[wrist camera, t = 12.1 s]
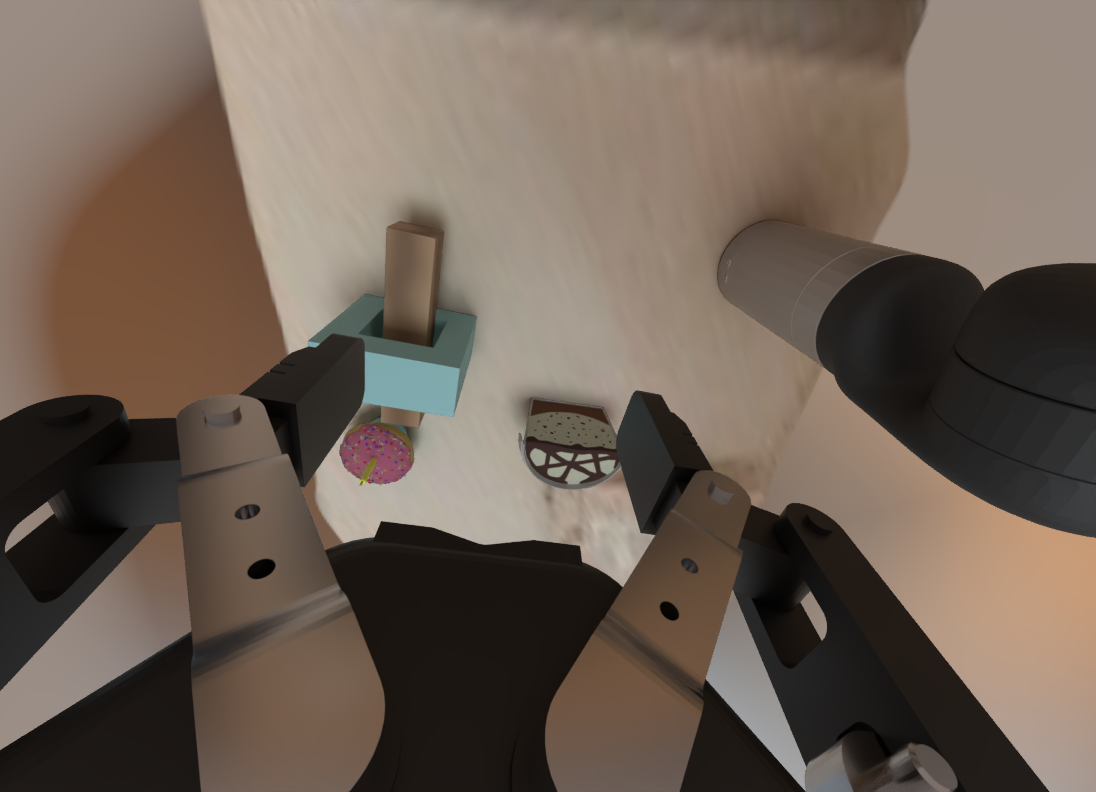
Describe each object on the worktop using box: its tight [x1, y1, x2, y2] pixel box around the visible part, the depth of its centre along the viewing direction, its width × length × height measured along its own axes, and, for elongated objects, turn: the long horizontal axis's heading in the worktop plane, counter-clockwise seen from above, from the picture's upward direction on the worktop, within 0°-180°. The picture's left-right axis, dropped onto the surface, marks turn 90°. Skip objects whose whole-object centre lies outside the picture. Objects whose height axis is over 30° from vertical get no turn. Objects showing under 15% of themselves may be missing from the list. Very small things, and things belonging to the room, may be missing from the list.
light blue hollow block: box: [308, 294, 477, 417], centre depth 39 cm, size 12×5×13 cm, turn 77°
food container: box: [518, 398, 621, 490], centre depth 48 cm, size 12×6×10 cm, turn 79°
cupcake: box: [339, 417, 414, 486], centre depth 47 cm, size 9×8×12 cm
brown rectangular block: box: [381, 221, 444, 428], centre depth 40 cm, size 4×20×4 cm, turn 167°
